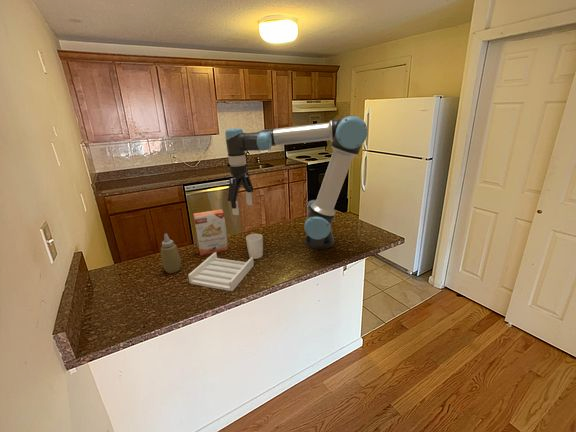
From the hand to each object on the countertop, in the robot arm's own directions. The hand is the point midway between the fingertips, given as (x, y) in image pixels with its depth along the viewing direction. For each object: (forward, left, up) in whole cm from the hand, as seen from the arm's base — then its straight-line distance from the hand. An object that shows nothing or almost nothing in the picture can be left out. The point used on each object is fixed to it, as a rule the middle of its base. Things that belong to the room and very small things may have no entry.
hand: (243, 209), depth 132 cm
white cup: (-6, +2, -23) cm, 24 cm away
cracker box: (+17, +3, -23) cm, 29 cm away
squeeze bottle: (+25, +24, -23) cm, 42 cm away
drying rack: (+1, +21, -23) cm, 31 cm away
